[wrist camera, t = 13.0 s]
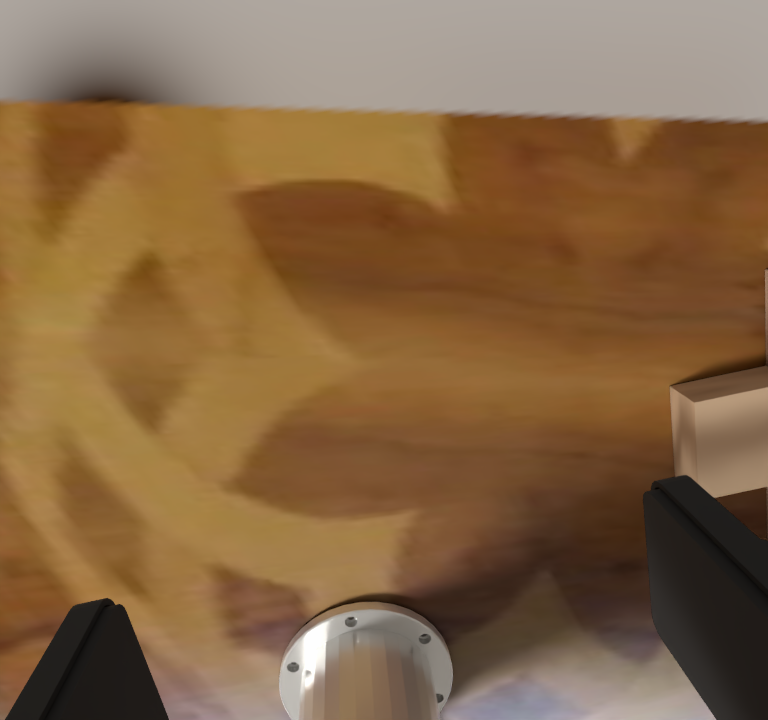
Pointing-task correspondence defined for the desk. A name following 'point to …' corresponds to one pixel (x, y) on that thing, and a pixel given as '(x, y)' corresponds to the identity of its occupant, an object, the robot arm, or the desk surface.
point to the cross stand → (723, 429)
